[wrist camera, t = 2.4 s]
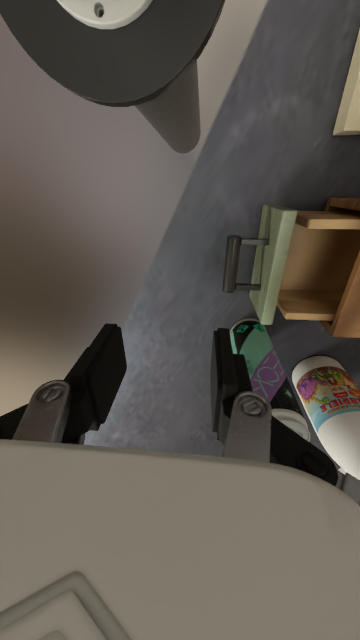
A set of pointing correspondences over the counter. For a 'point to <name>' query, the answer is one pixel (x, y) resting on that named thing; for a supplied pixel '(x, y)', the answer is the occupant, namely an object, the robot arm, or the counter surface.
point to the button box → (350, 99)
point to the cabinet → (356, 304)
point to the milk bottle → (331, 408)
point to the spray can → (267, 373)
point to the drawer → (297, 262)
